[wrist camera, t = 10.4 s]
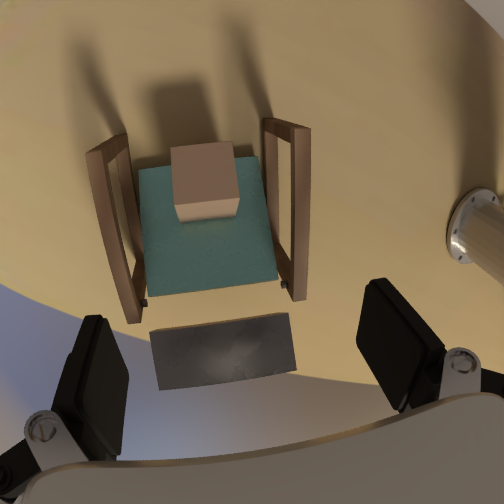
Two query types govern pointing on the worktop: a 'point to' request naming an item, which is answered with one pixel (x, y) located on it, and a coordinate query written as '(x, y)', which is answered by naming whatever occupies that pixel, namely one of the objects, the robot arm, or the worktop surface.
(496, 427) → the robot arm
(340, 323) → the worktop surface
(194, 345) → the chair seat and backrest
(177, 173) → the pinkish beige cube
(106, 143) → the frame
